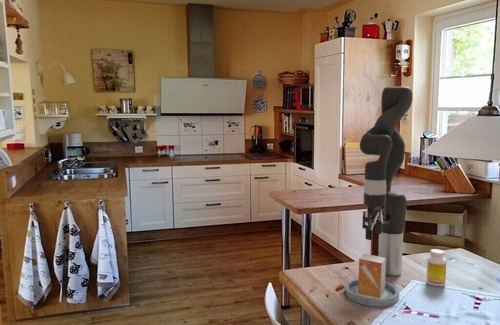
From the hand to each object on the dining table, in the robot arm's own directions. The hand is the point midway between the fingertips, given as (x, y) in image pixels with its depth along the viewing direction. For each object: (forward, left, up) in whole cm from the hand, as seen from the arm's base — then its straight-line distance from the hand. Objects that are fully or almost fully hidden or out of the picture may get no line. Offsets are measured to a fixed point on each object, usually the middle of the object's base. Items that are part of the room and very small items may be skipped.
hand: (373, 236), depth 144 cm
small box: (0, 0, -21) cm, 21 cm away
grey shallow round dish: (0, 0, -22) cm, 22 cm away
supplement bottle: (-25, +15, -22) cm, 37 cm away
